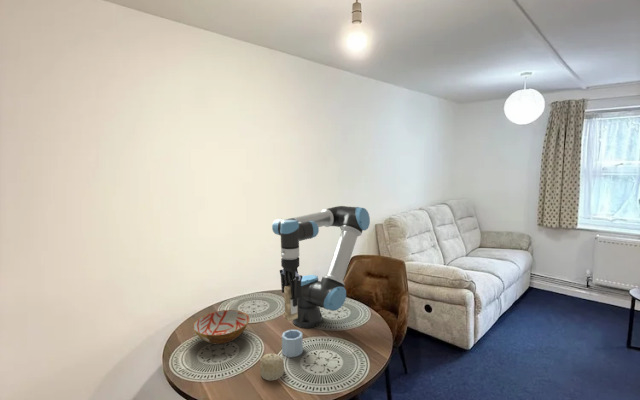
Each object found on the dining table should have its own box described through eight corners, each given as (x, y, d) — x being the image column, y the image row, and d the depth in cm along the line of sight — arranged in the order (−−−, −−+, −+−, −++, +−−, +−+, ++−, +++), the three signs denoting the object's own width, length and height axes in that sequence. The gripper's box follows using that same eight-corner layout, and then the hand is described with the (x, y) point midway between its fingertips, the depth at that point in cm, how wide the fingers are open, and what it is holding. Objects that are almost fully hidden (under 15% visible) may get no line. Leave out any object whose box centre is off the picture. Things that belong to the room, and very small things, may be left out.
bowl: (260, 330, 159) (260, 315, 158) (225, 358, 136) (224, 340, 135) (220, 321, 169) (219, 306, 168) (181, 345, 147) (180, 328, 146)
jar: (278, 350, 141) (277, 334, 140) (295, 343, 147) (294, 327, 146) (290, 359, 134) (289, 342, 134) (307, 351, 140) (306, 335, 139)
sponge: (269, 375, 131) (254, 356, 130) (289, 361, 131) (274, 342, 130) (267, 391, 122) (251, 371, 120) (288, 375, 122) (272, 355, 121)
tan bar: (284, 318, 138) (284, 286, 137) (293, 315, 141) (293, 284, 140) (288, 321, 136) (288, 288, 135) (297, 318, 139) (297, 286, 138)
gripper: (272, 255, 140) (273, 308, 142) (294, 263, 128) (295, 320, 130) (286, 252, 145) (287, 303, 147) (309, 259, 133) (310, 315, 135)
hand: (291, 311), depth 139 cm, fingers closed on tan bar, 3 cm apart
